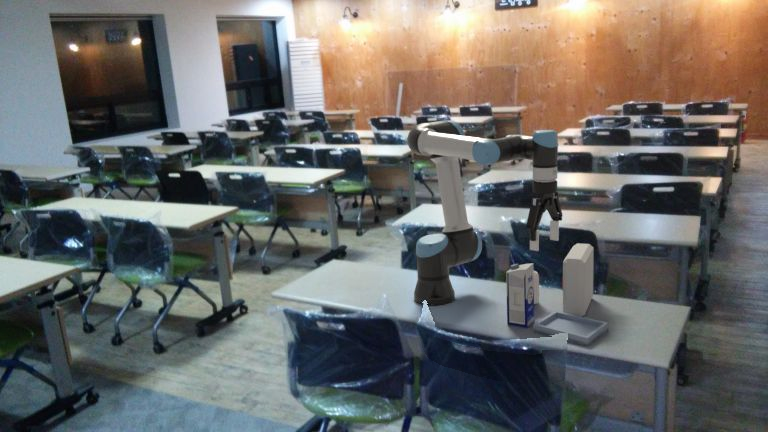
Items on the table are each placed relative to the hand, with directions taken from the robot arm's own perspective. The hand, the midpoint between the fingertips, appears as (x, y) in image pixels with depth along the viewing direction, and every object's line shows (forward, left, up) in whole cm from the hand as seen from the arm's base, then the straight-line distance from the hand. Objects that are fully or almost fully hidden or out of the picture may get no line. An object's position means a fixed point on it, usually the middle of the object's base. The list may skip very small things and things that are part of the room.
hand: (544, 245), depth 200 cm
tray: (+11, -4, -25) cm, 28 cm away
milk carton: (-5, -7, -26) cm, 27 cm away
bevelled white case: (+3, +16, -26) cm, 30 cm away
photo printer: (-12, +8, -26) cm, 29 cm away
